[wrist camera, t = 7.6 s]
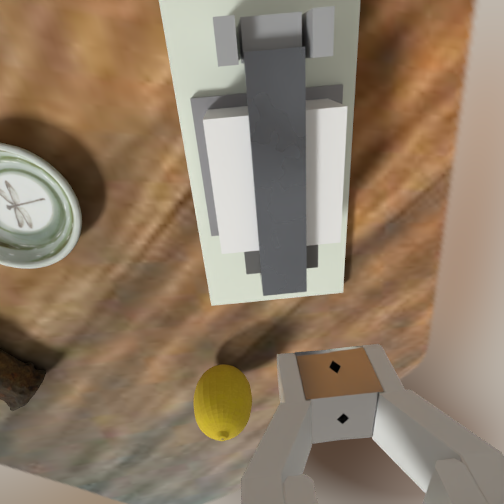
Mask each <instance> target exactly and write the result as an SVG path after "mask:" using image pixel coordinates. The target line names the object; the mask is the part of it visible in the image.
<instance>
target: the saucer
mask: <svg viewBox="0 0 504 504" xmlns="http://www.w3.org/2000/svg"><path fill="white" fill-rule="evenodd" d="M81 229H82V214H81V209H80V205H79V202H78V199H77V197H76V195H75V193H74V191H73V189H72V188H71V186H70V185H69V183H68V182H67V180H66V179H65V178H64V177H63V176H62V175H61V174H60V173H59V172H58V171H57V170H56V169H55V168H54V167H53V166H52V165H51V164H49V163H48V162H47V161H45V160H44V159H42V158H41V157H39V156H37V155H36V154H34V153H32V152H30V151H27V150H25V149H23V148H20V147H17V146H13V145H10V144H5V143H0V264H2V265H5V266H10V267H15V268H27V269H32V268H40V267H45V266H49V265H51V264H54V263H56V262H58V261H60V260H61V259H63V258H64V257H66V256H67V255H68V254H69V253H70V252H71V251H72V249H73V248H74V247H75V245H76V243H77V242H78V239H79V237H80V233H81Z"/></svg>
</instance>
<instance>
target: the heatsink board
mask: <svg viewBox="0 0 504 504" xmlns="http://www.w3.org/2000/svg"><path fill="white" fill-rule="evenodd" d="M159 4H160V10H161V15H162V21H163V27H164V33H165V38H166V44H167V50H168V56H169V62H170V67H171V73H172V79H173V85H174V91H175V96H176V102H177V108H178V114H179V120H180V125H181V131H182V137H183V143H184V149H185V154H186V160H187V166H188V172H189V178H190V183H191V189H192V195H193V201H194V207H195V212H196V218H197V224H198V230H199V236H200V241H201V247H202V253H203V259H204V265H205V270H206V276H207V282H208V288H209V294H210V299H211V305H212V306H213V305H223V304H233V303H243V302H253V301H263V300H273V299H283V298H293V297H303V296H313V295H323V294H333V293H343V284H344V267H345V250H346V234H347V217H348V200H349V183H350V167H351V150H352V133H353V116H354V100H355V83H356V66H357V50H358V33H359V16H360V0H159ZM295 47H305V73H306V248H307V292H298V293H288V294H278V295H268V296H263V291H262V284H261V277H260V273H261V268H260V256H259V243H258V231H257V218H256V206H255V193H254V181H253V169H252V156H251V144H250V131H249V119H248V107H247V94H246V82H245V69H244V57H243V52H251V51H262V50H273V49H284V48H295Z"/></svg>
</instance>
